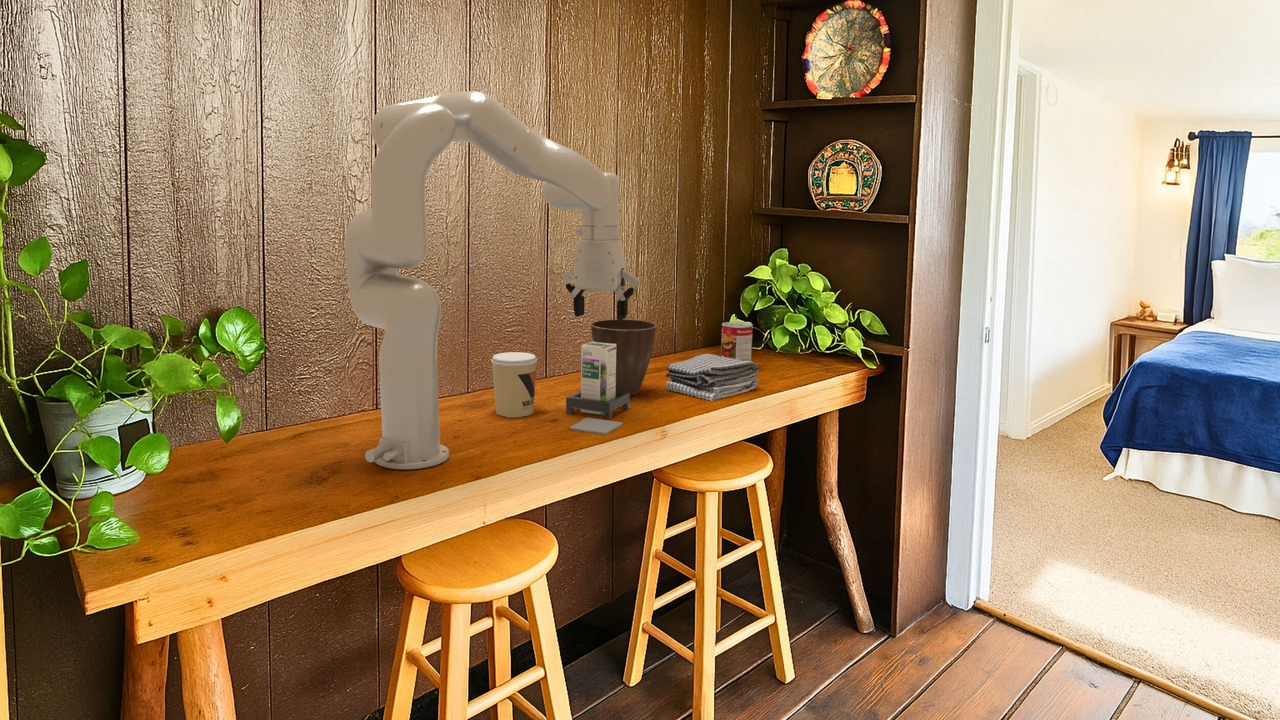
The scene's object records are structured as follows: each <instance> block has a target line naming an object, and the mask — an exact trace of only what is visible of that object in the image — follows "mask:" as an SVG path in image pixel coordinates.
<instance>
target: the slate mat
mask: <svg viewBox="0 0 1280 720" xmlns="http://www.w3.org/2000/svg"><path fill="white" fill-rule="evenodd" d="M623 425H624V422H620V421H613V420H609V419H601V418H600V419H599V418H594V417H593V418H592V417H586V418H584V419H582V420H581V421H579V422H577V423H575V424H573V425H572V426H570V427H568V430H569V429H570V431H577V432H582V431H583V433H584V432H585V433H590V434H591V433H592V434H597V435H605V436H607V435H609V434H610V433H612V432H613V431H615V430H617V429H619V428H620V427H622V426H623Z"/></svg>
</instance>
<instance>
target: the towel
mask: <svg viewBox="0 0 1280 720" xmlns="http://www.w3.org/2000/svg"><path fill="white" fill-rule="evenodd" d="M666 367H667V368H666V371H668V372H667V373H666V375H665V377H666V378H669V379H670V380H671V381H669V380H668V381H666V382H665V387H666V389H667V391H669V390H671V391H670V392H673V391H674V392H675V393H678V392H679V394H682V393H683V395H685V394H687V395H686V396H689V395H691V396H690V397H693V396H695V397H694V398H697V397H698V398H697V399H700V398H703V399H702V400H705V399H706V401H708V400H710V401H709V402H714V400H715V401H719V400H722V399H721V398H723V399H726V398H725V397H727V398H729V397H728V396H731V395H734V394H738V393H741V392H745V391H749V390H752V391H753V389H754V390H755V389H756V388H757V387H758V384H759V378H758V377H757V375H758V374H759V373H760V367H759V366H758V365H757V364H756V363H755V362H754V361H752V360H751V361H741V360H738V359H734V358H727V357H721V355H717V354H713V353H703V354H699V355H696V356H694V357H691V358H688V359H686V360H683V361H679V362H674V363H670V364H668V365H667V366H666ZM718 399H719V400H718Z"/></svg>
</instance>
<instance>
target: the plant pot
mask: <svg viewBox="0 0 1280 720" xmlns="http://www.w3.org/2000/svg"><path fill="white" fill-rule="evenodd" d="M590 329H591V336H592V342H598V343H608V344H616V391H622V392H630V397H631V396H635V395H638V394H639V393H640V391H641V390H640V389H641V388H642V384H643V382H644V380H645V377H646V374H647V371H648V368H649V364H650V362H651V361H650V360H651V357H652V353H653V348H654V343H655V338H656V337H655V336H656V332H657V324H656V323H654V322H651V321H646V320H640V319H627V318H625V319H622V320H618V319H617V318H616V319H603V320H596V321H593V322H591V323H590Z"/></svg>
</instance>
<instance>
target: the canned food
mask: <svg viewBox="0 0 1280 720" xmlns="http://www.w3.org/2000/svg"><path fill="white" fill-rule="evenodd" d="M753 326H754V324H752V323H750V322H742V321H729V322H728V321H726V322H722V324H721V343H720V344H721V346H720V356H721V357H727V358H734V359H738V360H741V361H751V362H752V350H753V349H752V348H753V329H754V327H753Z"/></svg>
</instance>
